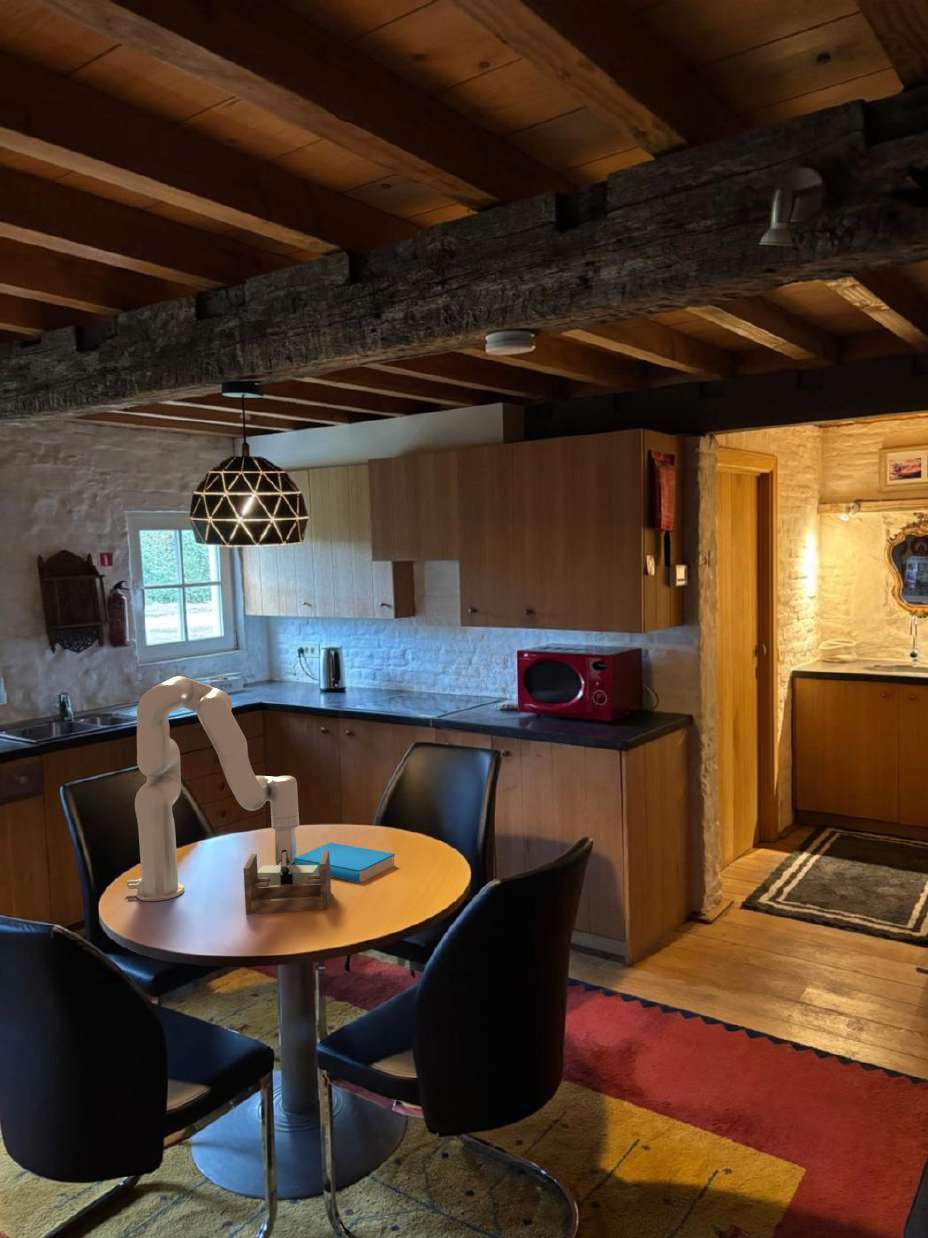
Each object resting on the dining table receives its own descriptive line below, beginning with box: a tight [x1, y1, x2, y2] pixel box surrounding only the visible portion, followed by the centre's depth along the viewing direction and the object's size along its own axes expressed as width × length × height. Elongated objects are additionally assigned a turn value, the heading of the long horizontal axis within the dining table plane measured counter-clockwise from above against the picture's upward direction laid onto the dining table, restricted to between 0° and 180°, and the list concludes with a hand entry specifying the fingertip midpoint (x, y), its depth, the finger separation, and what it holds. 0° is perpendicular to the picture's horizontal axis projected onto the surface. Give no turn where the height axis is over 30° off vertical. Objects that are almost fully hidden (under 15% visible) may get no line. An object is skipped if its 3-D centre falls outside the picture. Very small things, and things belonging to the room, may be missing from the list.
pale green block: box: [257, 864, 320, 885], centre depth 260 cm, size 16×6×5 cm, turn 85°
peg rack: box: [242, 850, 332, 915], centre depth 247 cm, size 21×12×12 cm, turn 94°
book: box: [295, 841, 396, 883], centre depth 274 cm, size 17×4×25 cm
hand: (288, 883), depth 260 cm, fingers closed on pale green block, 6 cm apart
